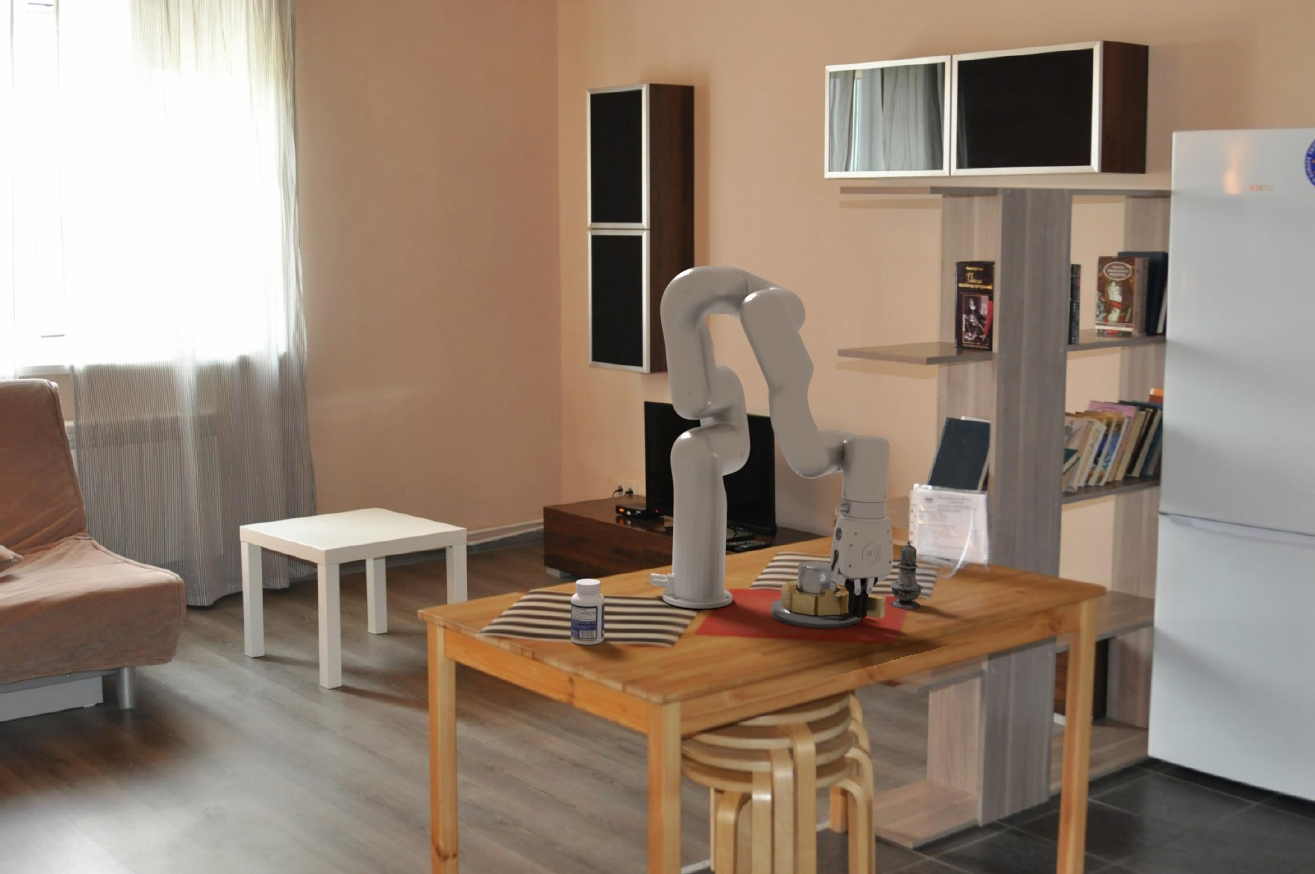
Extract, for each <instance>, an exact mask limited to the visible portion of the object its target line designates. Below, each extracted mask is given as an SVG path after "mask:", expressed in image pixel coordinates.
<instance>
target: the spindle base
mask: <svg viewBox="0 0 1315 874" xmlns="http://www.w3.org/2000/svg"><path fill="white" fill-rule="evenodd" d="M832 575H833V572H832V571H831V562H826V561H819V560H818V561H817V560H816V561H815V560H814V561H811V560H810V561H803V562H799V563H798V567H797V580H798V586H797V591H799V592H805V593H811V594H822V589H832V590H834V594H835V593H836V592H837V584H836V583H833V582H832V581H831V579H832ZM770 607H771V609H770V610H771V611H770V616H771V617H772V618H773V619H774V620H776V621H777V622H780V623H783V624H786V623H787V624H786V625H789V624H791V625H790V626H794V627H800V628H807V629H818V628H823V629H822V630H826V629H827V630H828V629H829V630H831V629H842V628H849V627H852V626H855V625H857V624H858V623H860V622H861V619H862V617H861V618H857V617H855V616H852V615H850V614H849V613H844V614H840V615H819V616H818V615H816V614H815V615H809V614H803V613H797V612H792V611H789V610H788V609H786V608H785V607H784V606H782V605H781V598H779V599H776V600H775V601H773V602H772V603H771V605H770ZM825 628H826V629H825Z"/></svg>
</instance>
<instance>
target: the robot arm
mask: <svg viewBox="0 0 1315 874" xmlns="http://www.w3.org/2000/svg"><path fill="white" fill-rule="evenodd" d="M659 308H660V309H659V310H660V320H661V327H662V332H663V333H662V334H663V339H664V346H665V347H664V348H665V354H666V355H665V356H666V357H665V358H666V365H667V366H666V367H667V373H668V382H669V383H668V384H669V391H670V399H671V400H670V401H671V403H672V406H673V410H674V411H675V412H676V414H677V415H679V417H681V418H683V419H686V420H691V421H692V420H694V421H695V420H696V421H697V420H699V422H700V426H699V427H692V428H691V429H688V430H686V431H684V432H682V434H680V435H679V436H678V437H677V438H676V440H675V441H674V442H673V445H672V448H671V452H670V467H671V474H672V475H671V476H672V482H673V526H672V527H673V529H672V531H673V534H672V561H671V563H672V564H671V565H672V567H671V572H670V573H669V572H668V573H667V574H661V573H654V572H651V573H650V575H649V583H650V584H652V586H653V587H664V588H665V590H664V591H663V592H662V600H663V601H664V602H665V603H667V604H669V605H673V606H675V607H680V608H688V609H698V610H699V609H717V608H723V607H726V606H728V605H730V604H731V603H732V602H733V594H732V593H731V592H730V591H729V590H726V589H725V579H726V577H725V575H726V549H727V548H726V546H727V516H728V515H727V512H728V502H727V501H728V500H727V492H726V489H725V485H724V477H723V476H727V475H729V474H733V473H735V472H737V471H739V470H741V469H742V468H743V467H744V466H745V464H746V463H747V461H748V458H749V456H750V451H751V439H750V429H749V422H748V415H747V405H746V396H745V392H744V387H743V384H742V381H741V380H740V378H739V376H738V375H737V374H736V372H735V371H734V370H733V369H732V368H730V367H729V366H727V365H724V364H720V363H719V364H718V363H716V359H715V354H714V343H713V338H712V335H711V333H710V332H711V331H710V330H709V328H708V325H707V322H706V318H707V317H708V316H710V315H730V316H733V317H734V318H737V319H739V322H740V324H741V327H742V329H743V331H744V334H745V336H746V339H747V341H748V343H749V346H750V348H751V349H752V353H753V354H754V357H755V359H756V362H757V364H758V366H759V368H760V370H761V373H762V375H763V377H764V380H765V383H766V384H767V390H768V395H767V396H768V399H767V400H768V407H769V417H770V422H771V428H772V430H773V433H774V435H775V436H774V437H775V439H776V441H777V443H778V445H779V447H780V450H781V452H782V454H783V457H784V458H785V461H786V462H787V464H788V465H789V467H790V468H791V470H792V471H793V472H795V474H797V475H798V476H800V477H802V478H804V479H810V480H811V479H812V480H813V479H817V478H818V479H819V478H821V477H824V476H827V475H831V474H836V473H842V483H841V484H842V486H841V487H842V488H841V499H840V503H839V504H838V503H837V504H836V506H835V509H836V511H837V513H840V516H837V519H836V523H835V526H834V530H833V536H832V537H833V538H832V542H831V552H830V563H831V571H832V572H833V575H832V579H831V581H832V582H833V583H836V584H839V585H843V586H844V587H845V588H846V591H848V592H849V597H848V613H849V614H850V615H852V616H855V617H857V618H861V619H862V618H866V617H868V616H867V609H868V596H869V594H872V592H873V588H874V587H875V586H876V585H877V583H879V582H882V581H885V580H887V578H888V575H890V574H891V573H892V571H893V565H894V542H893V529H892V523H891V518H890V517H889V516H887V505H888V503H887V502H888V489H889V474H890V471H889V470H890V455H891V445H890V442H889V440H888V439H887V438H885V437H883V436H879V435H873V434H872V435H871V434H854V433H851V432H848V431H844V430H839V429H834V428H827V429H822V430H819V429H818V427H817V425H816V422H815V421H814V418H813V415H812V412H811V409H810V404H809V396H808V395H809V386H810V384H811V381H812V379H813V375H814V371H815V366H814V363H813V361H812V357H810V354H809V352H808V349H807V348H806V346H805V343H804V341H803V339H802V337H801V334H800V332H799V331H800V330H801V329H802V327H803V326H804V323H805V321H806V309H805V304H804V303H803V301H802V300H801V298H800V297H799V296H798V294H796V293H795V292H794V291H792V290H790V289H788V288H786V287H783V286H781V285H779V284H777V283H774V282H772V281H770V280H767V279H765V278H762V277H760V276H758V275H755V274H753V273H751V272H749V271H747V270H744V269H742V268H739V267H734V266H716V265H702V266H700V265H699V266H696V267H691V268H688V269H685V270H684V271H682V272H680V273H679V274H677V275H676V276H675V277H674V278H673V279H672V280H671V281H670V282H669V283H668V285H667V286H666V288H665V289H664V292H663V295H662V296H661V301H660V307H659Z"/></svg>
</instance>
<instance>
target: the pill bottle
mask: <svg viewBox="0 0 1315 874" xmlns="http://www.w3.org/2000/svg"><path fill="white" fill-rule="evenodd" d="M601 585H602V583H601V581H600V580H598V579H594V578H582V579H577V580H576V581H575V591H576V593H574V594H573V595H572V596H571V599H570V640H571V642H572V643H575V644H578V645H584V646H592V645H593V646H594V645H597V644H601V643H602V642H603V641H604V640H605V610H606V608H605V606H606V605H605V604H606V603H605V602H606V601H605V597H604V595H603V594H602V593H600V592H601V589H602V588H601Z"/></svg>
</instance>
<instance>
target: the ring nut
mask: <svg viewBox="0 0 1315 874" xmlns="http://www.w3.org/2000/svg"><path fill="white" fill-rule="evenodd" d="M797 586H798V579H797V580H794V581H793V580H791V581H788V582H785V583H784V584H782V585H781V594H780V595H781V596H780V599H781V605H782V606H784V607H785V608H786V609H788V610H789V611H792V612H797V613H803V614H809V615H815V614H816V615H818V616H819V615H840V614H844V613H848V597H849V592H848V591H846V588H845V587H844V586H843V585H839V584H837V592H836V593H835V594H834V590H832V589H822V594H811V593H805V592H799V591H797ZM886 598H887V597H886V596H883V595H877V594H872V593H870V594H869V596H868V609H867V617H869V618H874V619H875V618H876V619H882V618H884V617H885V614H886V613H885V612H886Z"/></svg>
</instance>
